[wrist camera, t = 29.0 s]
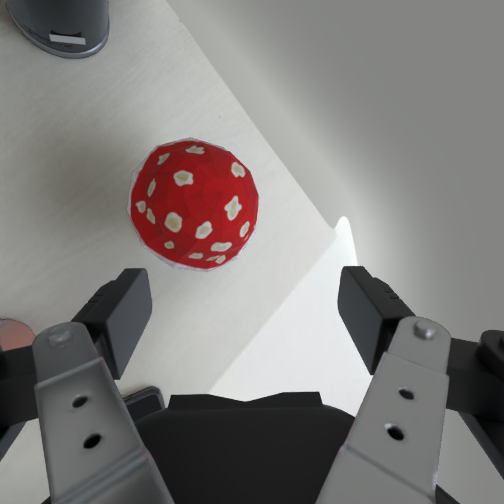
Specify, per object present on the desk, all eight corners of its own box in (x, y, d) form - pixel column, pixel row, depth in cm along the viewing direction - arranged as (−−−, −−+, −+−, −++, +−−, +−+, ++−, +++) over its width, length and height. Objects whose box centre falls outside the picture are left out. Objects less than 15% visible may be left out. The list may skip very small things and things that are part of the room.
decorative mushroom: (131, 276, 35) (144, 292, 22) (114, 160, 35) (117, 101, 21) (237, 260, 41) (298, 264, 28) (225, 160, 41) (282, 114, 27)
